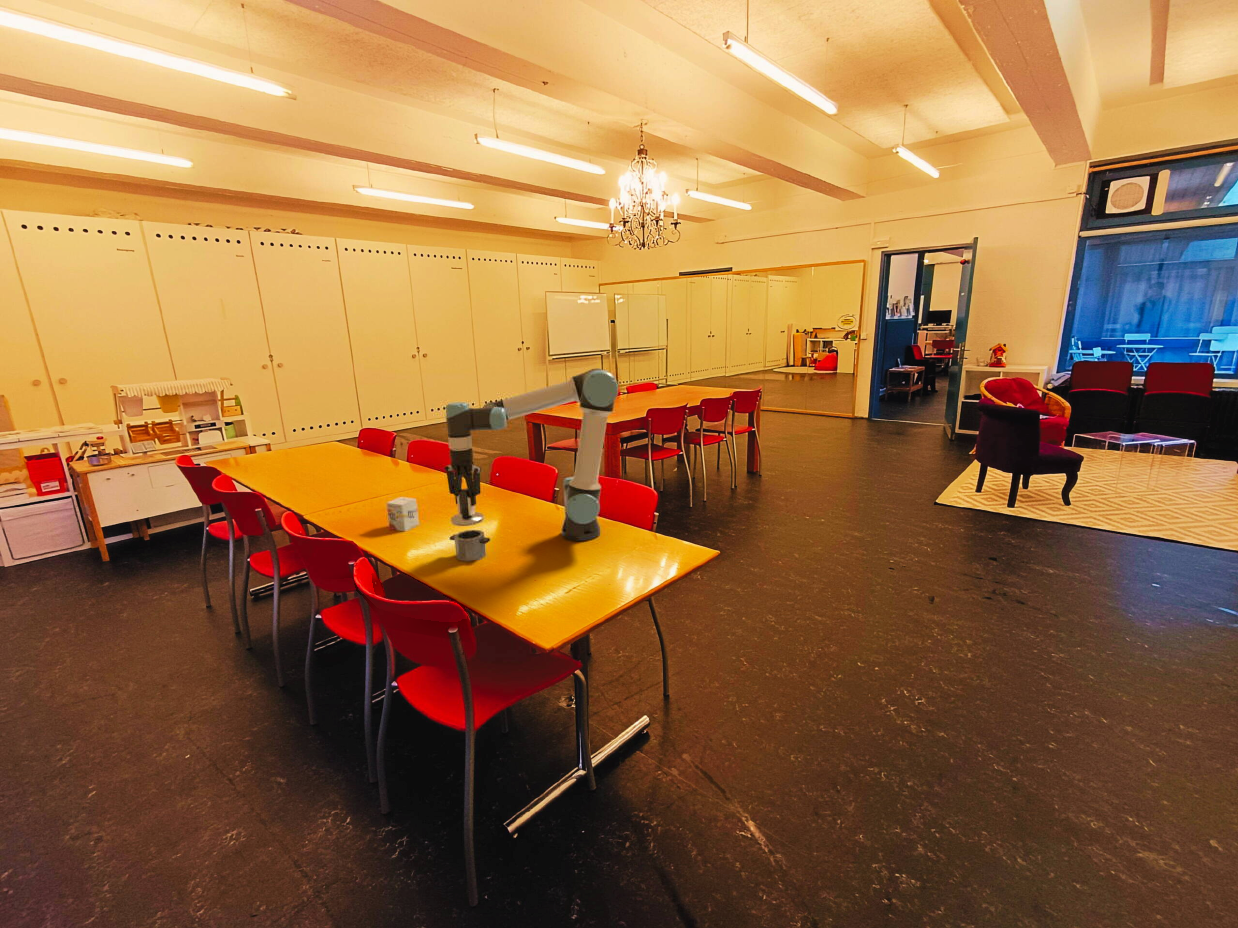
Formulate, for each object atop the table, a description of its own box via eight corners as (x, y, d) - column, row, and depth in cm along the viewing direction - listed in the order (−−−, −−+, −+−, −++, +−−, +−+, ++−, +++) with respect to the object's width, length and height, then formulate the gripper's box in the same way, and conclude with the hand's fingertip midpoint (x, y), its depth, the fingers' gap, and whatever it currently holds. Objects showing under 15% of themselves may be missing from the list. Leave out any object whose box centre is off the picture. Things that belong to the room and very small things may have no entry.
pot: (496, 552, 194) (494, 531, 193) (481, 563, 185) (479, 541, 183) (462, 548, 199) (460, 528, 197) (445, 559, 190) (443, 537, 188)
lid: (489, 516, 192) (487, 486, 190) (472, 527, 182) (469, 495, 180) (463, 514, 196) (460, 484, 193) (444, 524, 186) (441, 493, 183)
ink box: (388, 529, 222) (385, 502, 219) (404, 522, 229) (400, 496, 227) (405, 531, 218) (401, 504, 216) (420, 524, 226) (416, 498, 223)
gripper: (488, 447, 184) (493, 512, 189) (446, 445, 189) (453, 508, 194) (475, 451, 177) (481, 519, 182) (433, 449, 182) (440, 515, 188)
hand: (466, 513), depth 188 cm, fingers closed on lid, 4 cm apart
